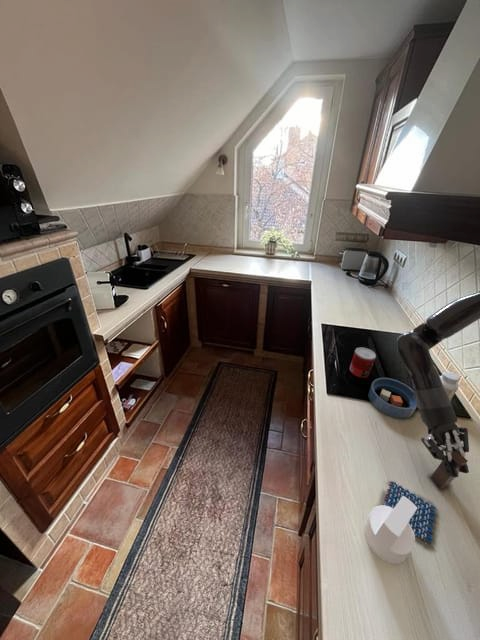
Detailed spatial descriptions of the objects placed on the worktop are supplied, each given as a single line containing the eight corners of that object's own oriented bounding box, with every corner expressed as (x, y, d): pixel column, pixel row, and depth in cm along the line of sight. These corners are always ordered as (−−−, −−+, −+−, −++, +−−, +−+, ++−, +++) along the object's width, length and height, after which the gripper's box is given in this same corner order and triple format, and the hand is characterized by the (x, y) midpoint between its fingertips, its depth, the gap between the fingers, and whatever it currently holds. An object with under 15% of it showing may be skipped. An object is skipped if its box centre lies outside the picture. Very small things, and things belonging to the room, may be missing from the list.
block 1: (388, 398, 96) (391, 392, 95) (387, 402, 94) (389, 397, 93) (380, 394, 98) (382, 388, 96) (378, 399, 96) (380, 393, 94)
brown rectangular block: (437, 475, 71) (456, 450, 65) (447, 486, 69) (468, 461, 63) (429, 479, 71) (447, 453, 65) (439, 490, 68) (459, 464, 62)
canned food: (363, 382, 104) (371, 361, 98) (345, 372, 109) (351, 351, 103) (371, 374, 108) (379, 353, 103) (353, 364, 114) (360, 344, 108)
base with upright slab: (374, 508, 64) (389, 483, 58) (412, 545, 58) (433, 520, 52) (354, 534, 60) (369, 509, 54) (393, 577, 53) (414, 554, 47)
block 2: (397, 402, 95) (400, 396, 93) (400, 408, 92) (403, 402, 90) (388, 400, 95) (391, 394, 94) (391, 406, 93) (393, 401, 91)
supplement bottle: (438, 394, 99) (453, 368, 93) (451, 407, 94) (468, 381, 87) (422, 394, 99) (435, 369, 92) (434, 408, 93) (449, 382, 87)
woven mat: (388, 481, 70) (390, 477, 69) (433, 509, 64) (436, 505, 63) (378, 514, 63) (380, 510, 62) (428, 549, 57) (431, 546, 56)
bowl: (411, 396, 98) (416, 386, 95) (414, 426, 86) (420, 415, 83) (368, 383, 104) (372, 373, 101) (366, 409, 92) (370, 398, 89)
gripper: (426, 411, 63) (453, 488, 59) (467, 398, 66) (495, 470, 62) (401, 409, 70) (424, 477, 66) (439, 398, 73) (463, 462, 70)
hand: (458, 473), depth 64 cm, fingers closed on brown rectangular block, 3 cm apart
